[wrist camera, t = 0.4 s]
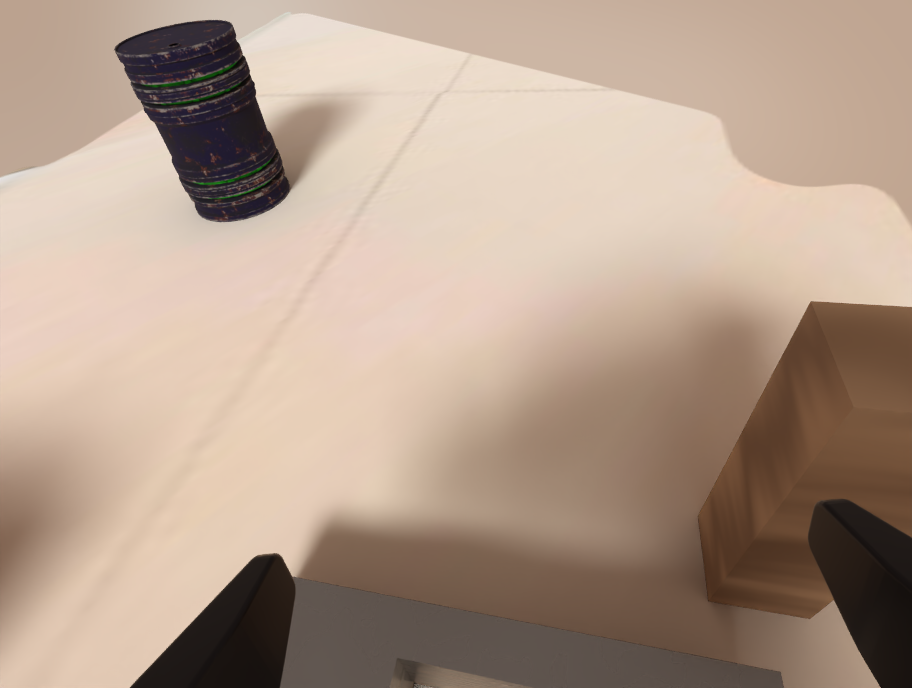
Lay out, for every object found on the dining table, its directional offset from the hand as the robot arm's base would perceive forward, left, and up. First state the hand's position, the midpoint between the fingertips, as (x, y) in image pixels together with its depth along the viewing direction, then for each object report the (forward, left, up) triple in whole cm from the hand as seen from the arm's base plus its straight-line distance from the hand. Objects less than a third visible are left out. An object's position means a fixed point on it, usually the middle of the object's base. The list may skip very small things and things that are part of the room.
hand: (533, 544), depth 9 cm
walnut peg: (+4, -11, -16) cm, 20 cm away
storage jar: (+48, +19, -17) cm, 54 cm away
